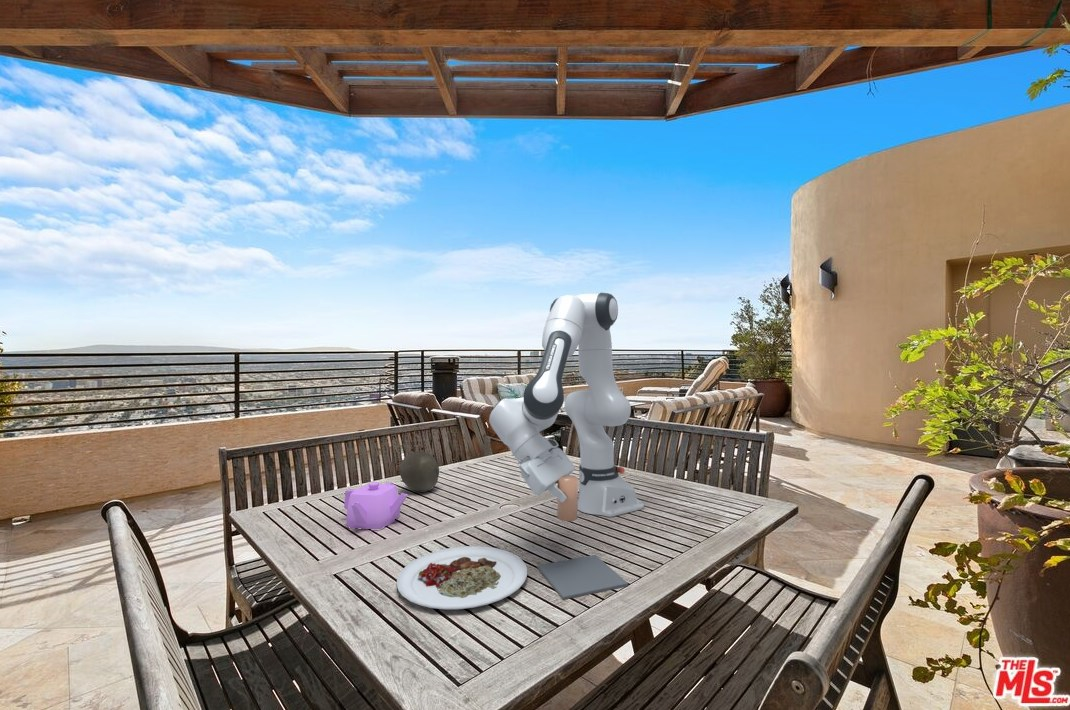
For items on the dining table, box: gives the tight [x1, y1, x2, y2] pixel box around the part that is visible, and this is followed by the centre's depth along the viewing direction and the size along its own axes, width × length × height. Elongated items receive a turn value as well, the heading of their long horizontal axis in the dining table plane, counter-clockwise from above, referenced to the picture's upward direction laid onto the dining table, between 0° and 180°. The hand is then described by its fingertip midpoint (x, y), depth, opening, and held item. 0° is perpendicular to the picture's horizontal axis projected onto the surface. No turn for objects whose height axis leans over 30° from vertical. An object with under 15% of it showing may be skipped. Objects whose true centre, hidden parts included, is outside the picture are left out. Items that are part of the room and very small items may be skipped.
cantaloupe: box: [399, 451, 440, 492], centre depth 182 cm, size 14×14×15 cm
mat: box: [536, 554, 629, 601], centre depth 113 cm, size 16×16×1 cm
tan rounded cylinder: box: [556, 474, 579, 522], centre depth 120 cm, size 5×5×10 cm
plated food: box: [396, 545, 528, 610], centre depth 113 cm, size 30×30×3 cm
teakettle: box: [343, 481, 408, 530], centre depth 151 cm, size 17×17×12 cm
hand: (570, 496), depth 119 cm, fingers closed on tan rounded cylinder, 5 cm apart
